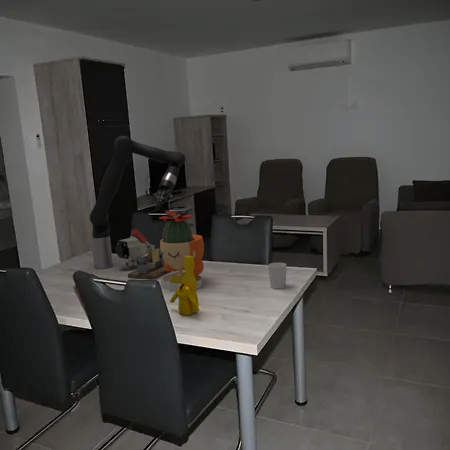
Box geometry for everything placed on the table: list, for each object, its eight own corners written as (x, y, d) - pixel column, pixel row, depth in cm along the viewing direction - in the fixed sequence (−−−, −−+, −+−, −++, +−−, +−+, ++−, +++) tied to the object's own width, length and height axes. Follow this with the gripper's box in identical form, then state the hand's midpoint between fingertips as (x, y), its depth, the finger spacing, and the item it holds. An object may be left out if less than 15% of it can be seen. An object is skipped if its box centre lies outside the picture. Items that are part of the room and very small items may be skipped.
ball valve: (126, 272, 237) (123, 239, 234) (117, 270, 243) (113, 238, 240) (152, 264, 251) (149, 233, 248) (143, 262, 256) (140, 232, 253)
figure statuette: (166, 310, 177) (162, 256, 173) (182, 304, 182) (178, 252, 178) (195, 321, 164) (191, 263, 160) (211, 314, 169) (207, 258, 166)
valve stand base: (128, 277, 227) (127, 273, 227) (150, 267, 245) (150, 263, 244) (154, 280, 220) (154, 276, 220) (175, 269, 238) (175, 265, 237)
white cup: (288, 284, 201) (287, 262, 199) (285, 289, 194) (284, 267, 192) (271, 283, 204) (270, 262, 202) (267, 288, 196) (266, 266, 195)
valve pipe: (135, 274, 224) (133, 249, 222) (158, 264, 242) (156, 241, 240) (145, 275, 222) (143, 249, 220) (167, 265, 240) (165, 241, 237)
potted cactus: (183, 293, 196) (177, 215, 190) (152, 285, 211) (145, 212, 205) (217, 281, 212) (212, 208, 206) (185, 274, 227) (180, 206, 221)
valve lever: (148, 249, 231) (131, 233, 217) (149, 245, 232) (132, 229, 218) (152, 249, 230) (135, 233, 216) (153, 245, 231) (136, 229, 217)
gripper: (154, 179, 247) (143, 203, 238) (175, 178, 241) (164, 204, 233) (161, 187, 253) (150, 212, 244) (181, 187, 247) (170, 212, 238)
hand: (157, 208), depth 238 cm, fingers closed
